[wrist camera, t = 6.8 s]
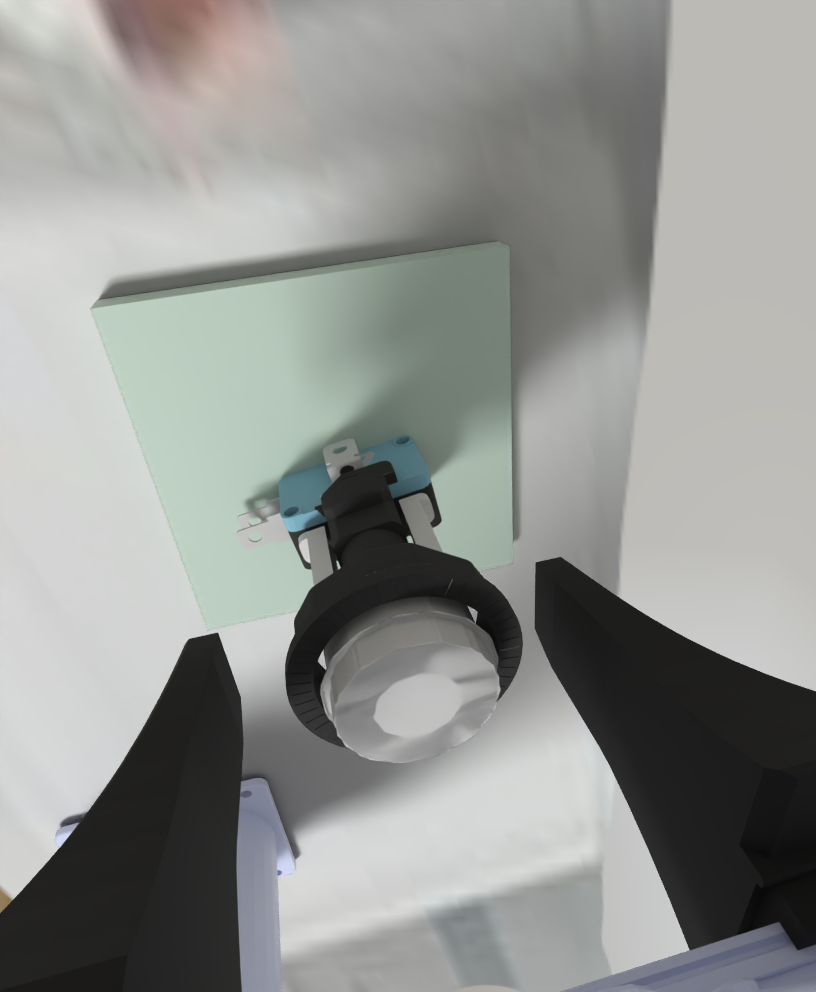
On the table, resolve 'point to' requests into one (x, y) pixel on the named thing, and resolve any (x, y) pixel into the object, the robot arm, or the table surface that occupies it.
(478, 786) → the table surface
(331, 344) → the sage board
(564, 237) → the table surface
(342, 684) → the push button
